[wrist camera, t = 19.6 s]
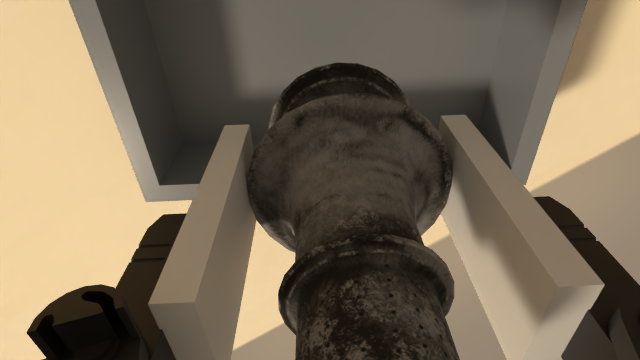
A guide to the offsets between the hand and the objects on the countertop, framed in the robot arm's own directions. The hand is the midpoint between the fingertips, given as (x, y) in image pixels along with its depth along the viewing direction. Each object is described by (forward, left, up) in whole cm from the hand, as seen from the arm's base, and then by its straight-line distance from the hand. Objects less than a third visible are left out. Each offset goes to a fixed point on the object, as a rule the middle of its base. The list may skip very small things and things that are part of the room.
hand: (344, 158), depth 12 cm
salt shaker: (0, 0, -2) cm, 2 cm away
